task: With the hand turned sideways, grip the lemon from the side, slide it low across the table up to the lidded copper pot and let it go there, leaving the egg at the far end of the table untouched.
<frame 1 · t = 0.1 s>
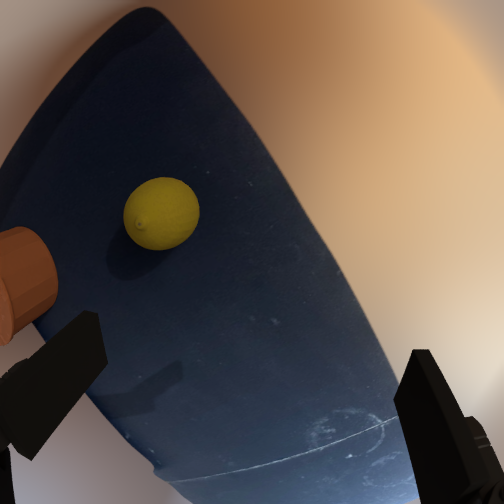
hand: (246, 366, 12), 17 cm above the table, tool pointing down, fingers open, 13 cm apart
lemon: (181, 204, 28), on the table
pot: (28, 269, 33), on the table
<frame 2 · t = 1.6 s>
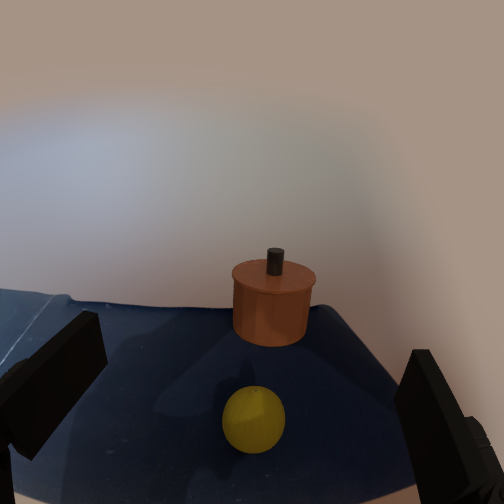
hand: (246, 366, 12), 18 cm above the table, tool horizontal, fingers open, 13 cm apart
lemon: (251, 447, 26), on the table
pot: (269, 326, 49), on the table
pot lid: (273, 276, 46), point 8 cm above the table, touching pot
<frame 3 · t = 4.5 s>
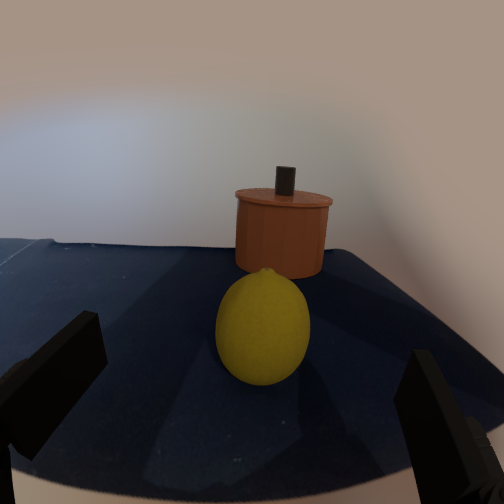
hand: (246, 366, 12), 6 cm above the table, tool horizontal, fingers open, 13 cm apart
lemon: (257, 384, 20), on the table
pot: (278, 262, 42), on the table
pot lid: (283, 198, 39), point 8 cm above the table, touching pot
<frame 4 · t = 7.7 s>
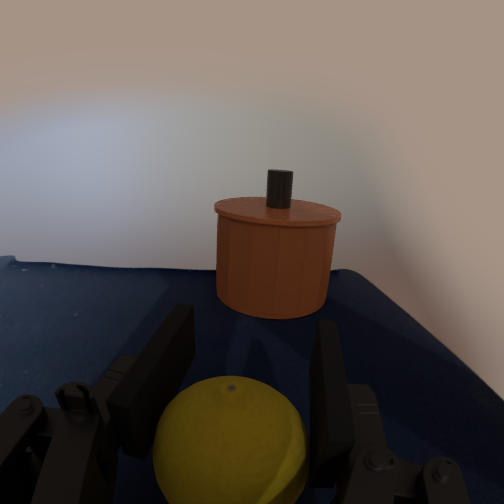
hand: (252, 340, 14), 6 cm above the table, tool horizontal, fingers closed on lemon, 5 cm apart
pot: (271, 292, 33), on the table
pot lid: (277, 211, 31), point 8 cm above the table, touching pot
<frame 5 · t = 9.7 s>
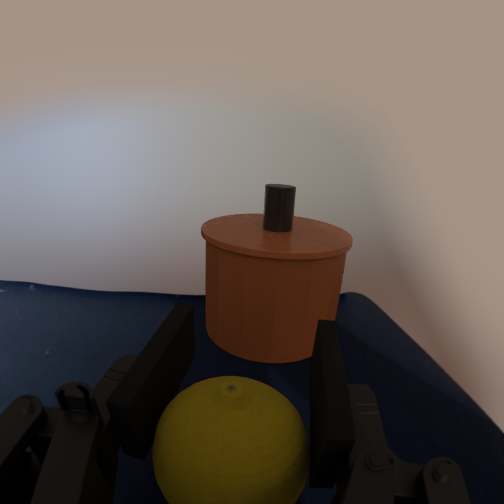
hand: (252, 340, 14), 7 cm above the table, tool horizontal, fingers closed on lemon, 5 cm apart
pot: (269, 325, 28), on the table
pot lid: (276, 234, 26), point 8 cm above the table, touching pot
when the fingers open (6 cm above the table, at t = 12.1 s): lemon stays where it is, on the table.
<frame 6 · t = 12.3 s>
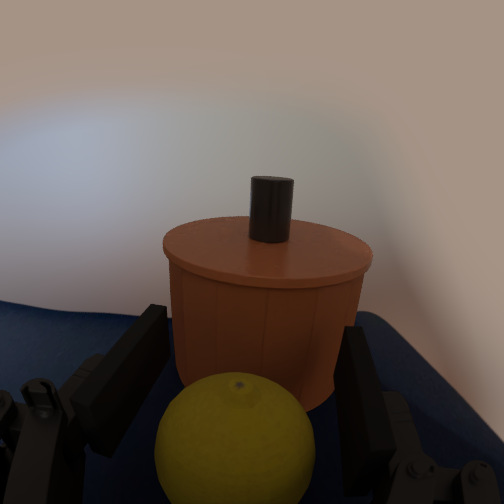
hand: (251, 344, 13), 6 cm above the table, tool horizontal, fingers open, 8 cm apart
pot: (259, 361, 21), on the table
pot lid: (268, 245, 19), point 8 cm above the table, touching pot
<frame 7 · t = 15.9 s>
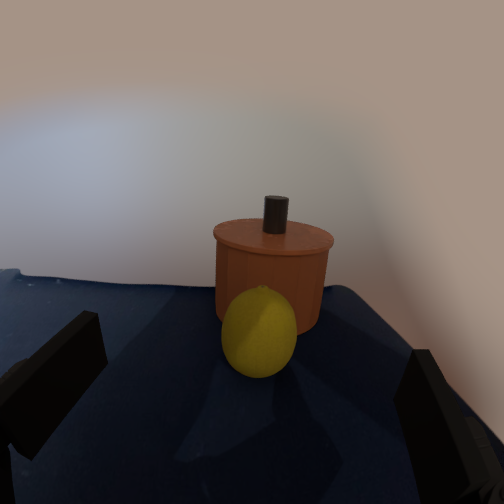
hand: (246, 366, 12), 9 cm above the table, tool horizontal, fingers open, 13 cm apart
lemon: (255, 377, 24), on the table
pot: (267, 310, 35), on the table
pot lid: (273, 236, 32), point 8 cm above the table, touching pot
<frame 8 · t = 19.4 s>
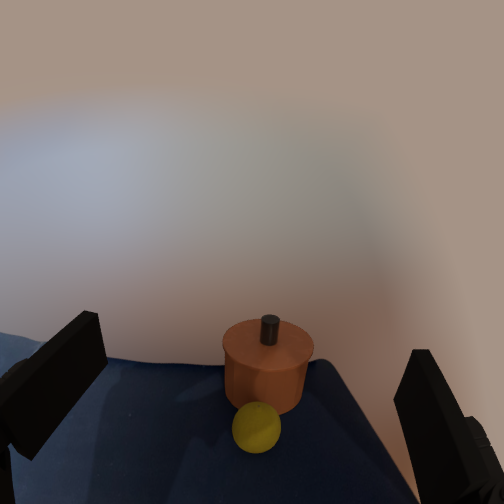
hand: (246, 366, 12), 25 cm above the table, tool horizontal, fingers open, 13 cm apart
lemon: (253, 448, 33), on the table
pot: (263, 389, 44), on the table
pot lid: (268, 344, 41), point 8 cm above the table, touching pot
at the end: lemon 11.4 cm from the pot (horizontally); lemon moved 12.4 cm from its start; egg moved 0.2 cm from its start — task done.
